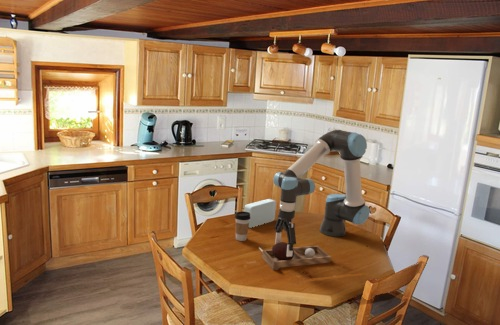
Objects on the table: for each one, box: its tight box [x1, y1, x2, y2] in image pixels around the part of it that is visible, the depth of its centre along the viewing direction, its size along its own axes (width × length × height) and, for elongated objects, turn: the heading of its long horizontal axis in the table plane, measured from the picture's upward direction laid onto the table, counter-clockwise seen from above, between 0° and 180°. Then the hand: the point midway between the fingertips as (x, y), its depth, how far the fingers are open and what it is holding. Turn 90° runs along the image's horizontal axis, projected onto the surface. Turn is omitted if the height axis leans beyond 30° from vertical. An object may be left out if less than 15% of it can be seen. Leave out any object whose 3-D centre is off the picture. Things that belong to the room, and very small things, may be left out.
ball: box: [305, 248, 315, 258], centre depth 224 cm, size 5×5×5 cm
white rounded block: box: [243, 198, 277, 229], centre depth 270 cm, size 23×6×13 cm, turn 137°
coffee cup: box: [234, 211, 250, 242], centre depth 243 cm, size 8×8×15 cm
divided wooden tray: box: [261, 245, 332, 271], centre depth 221 cm, size 31×14×4 cm, turn 110°
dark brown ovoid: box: [271, 241, 294, 261], centre depth 218 cm, size 9×12×9 cm
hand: (283, 250), depth 218 cm, fingers open, 13 cm apart
